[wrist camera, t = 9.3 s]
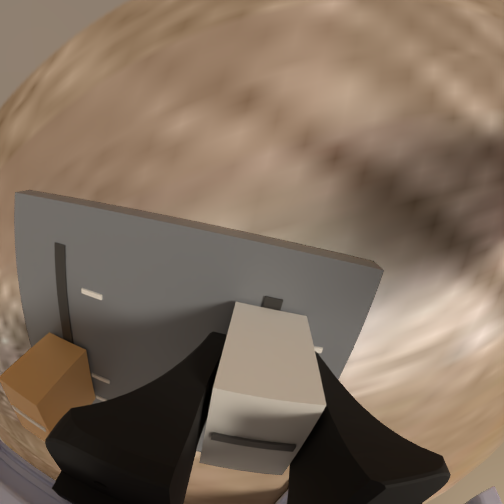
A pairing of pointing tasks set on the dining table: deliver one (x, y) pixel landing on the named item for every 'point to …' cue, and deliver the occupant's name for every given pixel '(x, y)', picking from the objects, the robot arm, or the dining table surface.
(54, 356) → the orange fader
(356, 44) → the dining table surface
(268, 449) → the grey fader
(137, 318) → the console
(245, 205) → the dining table surface
